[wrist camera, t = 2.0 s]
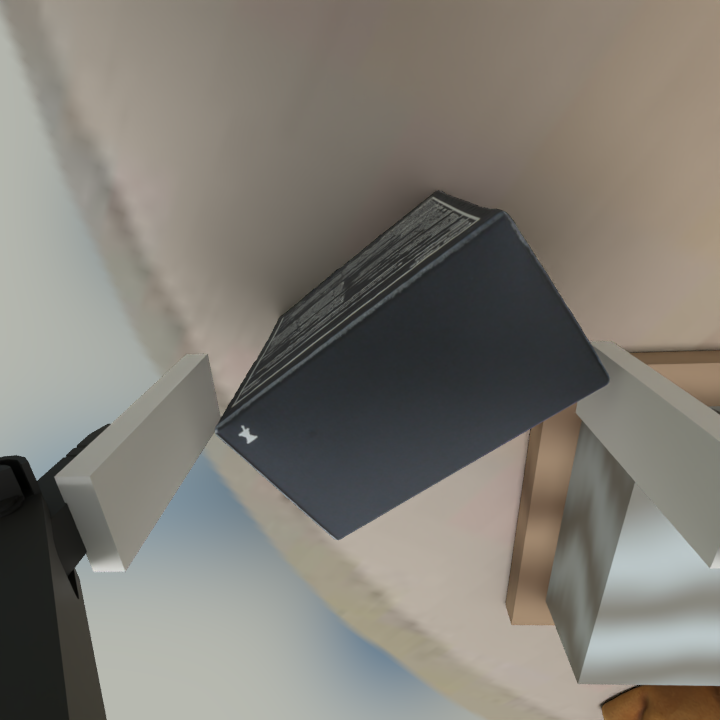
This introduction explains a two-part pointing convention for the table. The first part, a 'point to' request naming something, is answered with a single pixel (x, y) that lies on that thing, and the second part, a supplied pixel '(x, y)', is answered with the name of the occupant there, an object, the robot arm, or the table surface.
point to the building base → (614, 554)
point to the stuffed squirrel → (665, 703)
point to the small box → (409, 366)
